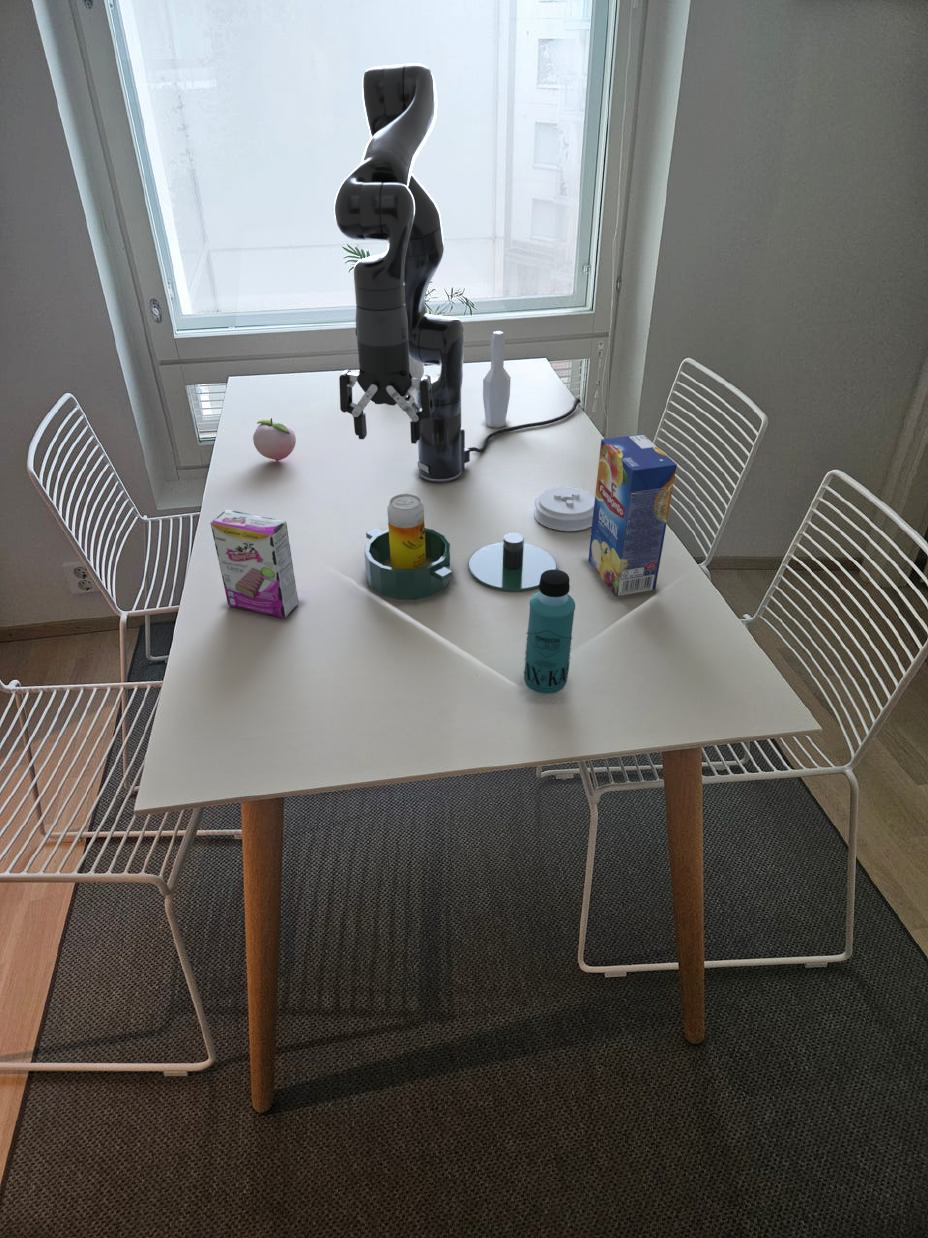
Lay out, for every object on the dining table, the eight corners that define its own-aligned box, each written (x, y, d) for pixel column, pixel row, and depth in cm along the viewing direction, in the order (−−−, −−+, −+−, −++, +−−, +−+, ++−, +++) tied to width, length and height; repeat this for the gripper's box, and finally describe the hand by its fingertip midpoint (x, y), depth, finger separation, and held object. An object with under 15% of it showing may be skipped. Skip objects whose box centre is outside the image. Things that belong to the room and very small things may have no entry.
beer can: (421, 588, 139) (418, 511, 130) (387, 584, 140) (382, 508, 131) (429, 569, 144) (427, 494, 135) (397, 565, 145) (392, 491, 136)
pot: (403, 542, 152) (401, 512, 148) (478, 584, 140) (478, 554, 137) (341, 572, 144) (338, 541, 140) (416, 619, 132) (414, 588, 128)
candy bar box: (226, 607, 135) (207, 522, 125) (242, 591, 139) (225, 507, 129) (285, 620, 132) (271, 534, 122) (300, 603, 136) (287, 518, 126)
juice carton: (655, 592, 138) (677, 464, 124) (615, 598, 137) (633, 470, 122) (625, 556, 148) (642, 433, 133) (587, 562, 146) (601, 439, 132)
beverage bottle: (519, 675, 121) (526, 563, 109) (563, 672, 121) (574, 561, 109) (526, 704, 116) (533, 590, 104) (571, 701, 116) (584, 588, 104)
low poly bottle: (513, 422, 197) (517, 331, 184) (500, 431, 193) (503, 338, 180) (491, 416, 200) (493, 326, 187) (477, 425, 195) (479, 333, 182)
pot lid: (510, 538, 153) (511, 507, 149) (573, 570, 144) (576, 537, 140) (451, 569, 144) (450, 537, 140) (515, 605, 135) (516, 572, 131)
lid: (606, 511, 161) (608, 488, 158) (586, 541, 152) (588, 517, 149) (546, 498, 165) (548, 476, 162) (524, 526, 156) (525, 504, 153)
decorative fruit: (248, 465, 178) (241, 422, 172) (269, 450, 184) (262, 408, 178) (285, 472, 175) (278, 429, 169) (304, 457, 181) (299, 415, 175)
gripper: (435, 330, 119) (437, 433, 129) (343, 325, 121) (352, 426, 131) (423, 346, 113) (427, 453, 123) (327, 340, 115) (338, 445, 125)
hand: (388, 439), depth 127 cm, fingers open, 8 cm apart
